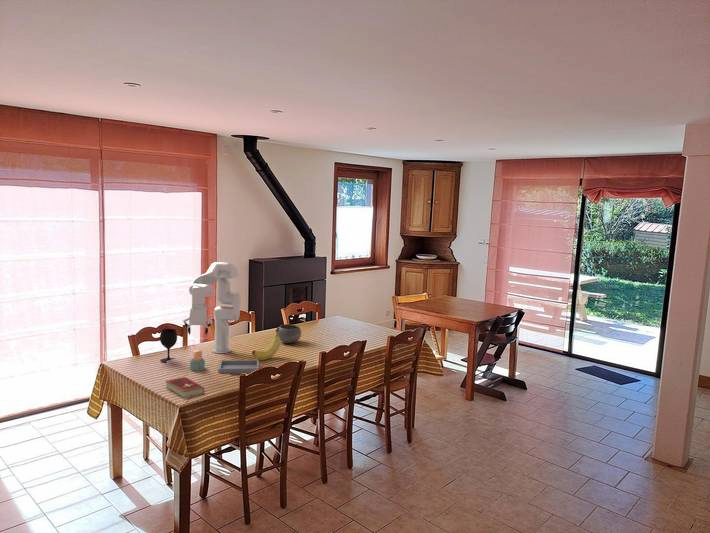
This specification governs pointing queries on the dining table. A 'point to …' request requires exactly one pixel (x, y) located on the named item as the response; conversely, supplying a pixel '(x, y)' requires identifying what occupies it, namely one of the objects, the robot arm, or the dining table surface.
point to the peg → (197, 355)
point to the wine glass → (168, 341)
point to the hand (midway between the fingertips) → (197, 334)
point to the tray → (238, 366)
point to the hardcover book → (184, 386)
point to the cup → (197, 365)
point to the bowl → (289, 333)
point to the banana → (268, 349)
